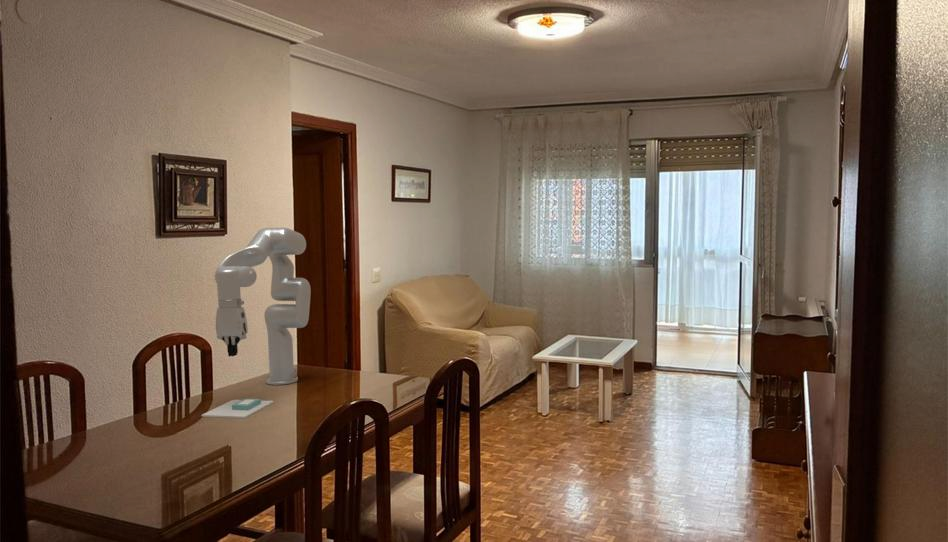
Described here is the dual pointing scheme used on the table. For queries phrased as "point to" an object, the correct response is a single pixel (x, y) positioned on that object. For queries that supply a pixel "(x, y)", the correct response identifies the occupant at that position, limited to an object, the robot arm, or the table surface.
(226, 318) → the robot arm
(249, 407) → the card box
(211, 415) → the mat
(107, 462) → the table surface
